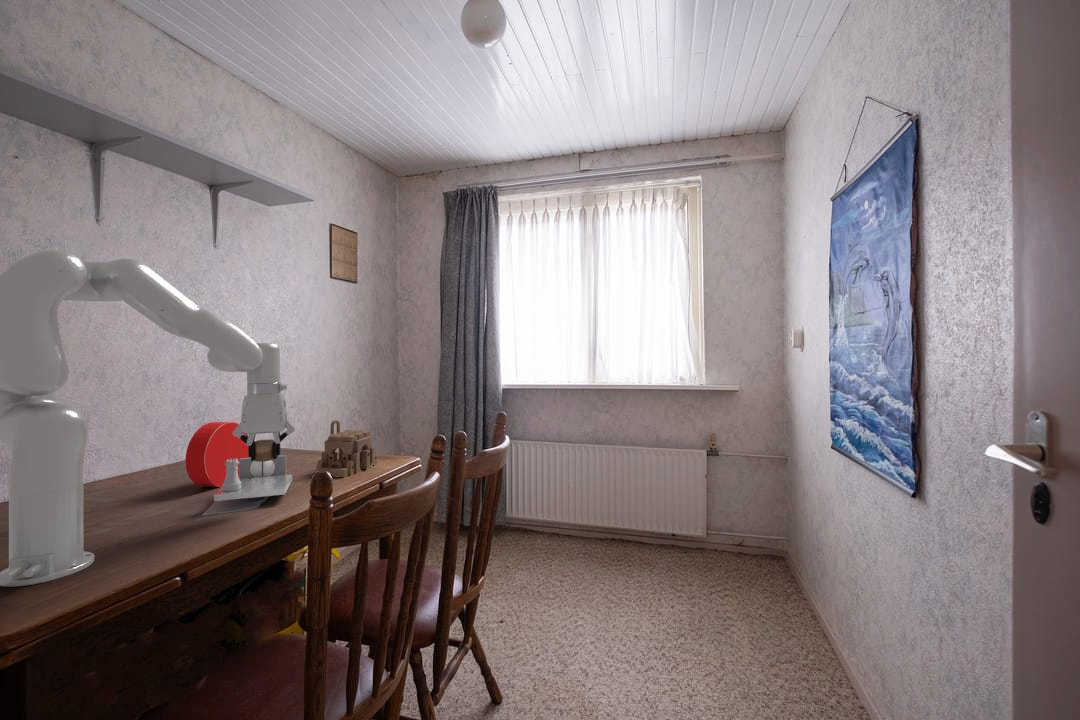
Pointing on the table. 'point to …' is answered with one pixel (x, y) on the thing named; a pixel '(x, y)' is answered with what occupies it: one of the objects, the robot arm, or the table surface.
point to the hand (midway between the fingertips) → (264, 458)
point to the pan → (257, 488)
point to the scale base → (249, 471)
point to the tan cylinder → (264, 450)
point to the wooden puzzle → (347, 452)
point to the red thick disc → (213, 453)
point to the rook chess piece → (231, 476)
